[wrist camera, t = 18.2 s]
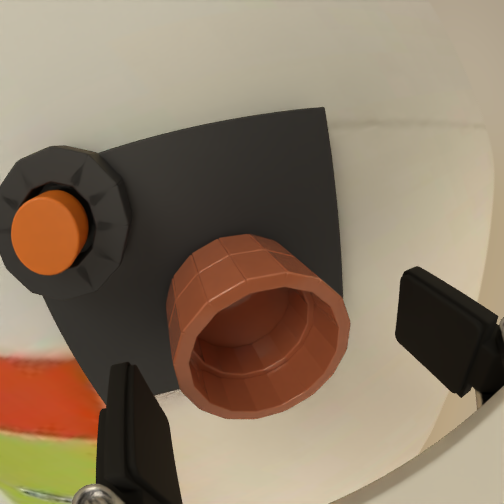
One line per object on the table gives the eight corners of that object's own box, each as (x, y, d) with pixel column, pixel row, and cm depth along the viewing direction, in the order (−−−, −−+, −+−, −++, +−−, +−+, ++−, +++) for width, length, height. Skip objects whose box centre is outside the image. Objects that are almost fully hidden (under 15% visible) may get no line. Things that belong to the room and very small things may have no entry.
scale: (9, 172, 10) (-23, 180, 7) (307, 94, 13) (342, 85, 10) (104, 390, 15) (101, 428, 12) (332, 320, 18) (359, 347, 15)
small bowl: (187, 214, 12) (204, 253, 8) (317, 249, 14) (375, 290, 10) (154, 343, 13) (160, 415, 9) (272, 357, 16) (307, 417, 12)
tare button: (18, 202, 9) (0, 212, 7) (77, 179, 9) (65, 185, 8) (40, 267, 10) (27, 284, 8) (98, 248, 10) (90, 264, 9)
